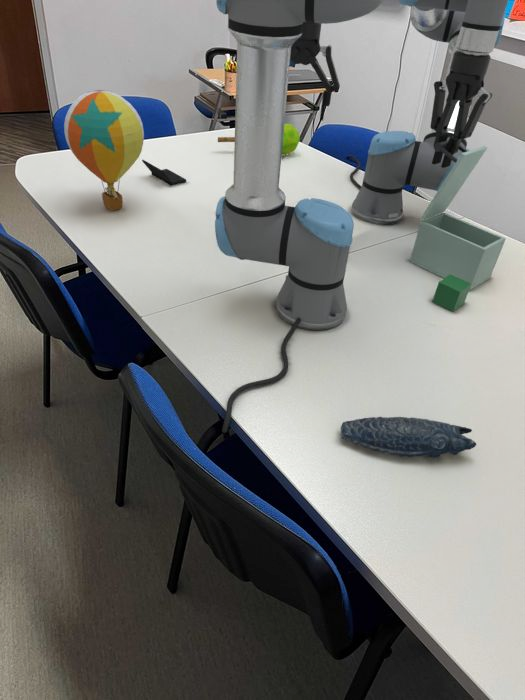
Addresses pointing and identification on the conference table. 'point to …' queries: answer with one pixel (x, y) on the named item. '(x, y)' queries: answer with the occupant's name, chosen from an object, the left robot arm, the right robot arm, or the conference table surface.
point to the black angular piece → (165, 175)
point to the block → (451, 292)
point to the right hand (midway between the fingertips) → (440, 164)
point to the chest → (456, 249)
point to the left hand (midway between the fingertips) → (295, 116)
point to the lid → (452, 177)
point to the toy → (105, 138)
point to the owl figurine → (407, 436)
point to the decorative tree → (289, 139)
